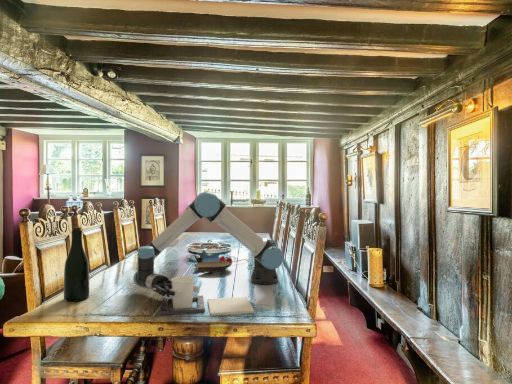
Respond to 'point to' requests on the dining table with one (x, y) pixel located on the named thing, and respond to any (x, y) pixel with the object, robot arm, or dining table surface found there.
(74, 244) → the dark wine bottle
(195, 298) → the dark grey square frame
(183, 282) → the candle holder
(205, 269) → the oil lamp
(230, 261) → the glasses
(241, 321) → the dining table surface
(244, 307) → the cream tile
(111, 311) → the dining table surface
